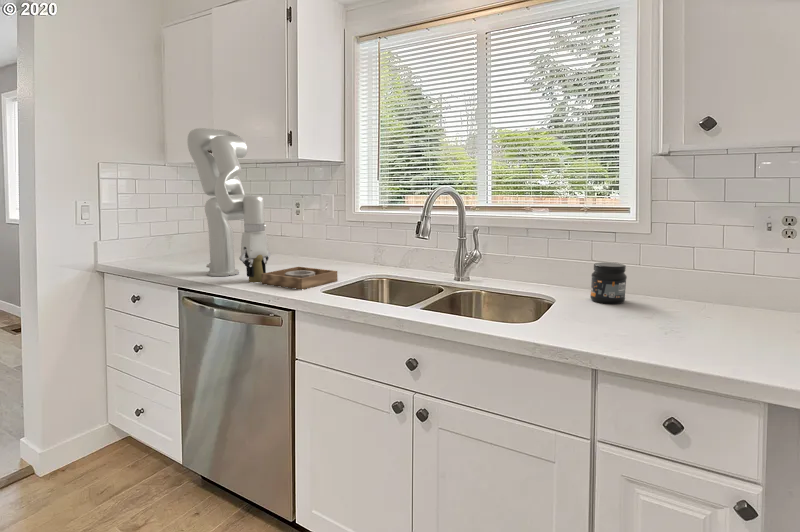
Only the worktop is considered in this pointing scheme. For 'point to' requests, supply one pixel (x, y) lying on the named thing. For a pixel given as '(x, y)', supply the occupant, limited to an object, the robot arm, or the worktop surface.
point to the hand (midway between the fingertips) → (256, 275)
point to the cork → (257, 269)
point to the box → (299, 277)
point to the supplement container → (608, 283)
